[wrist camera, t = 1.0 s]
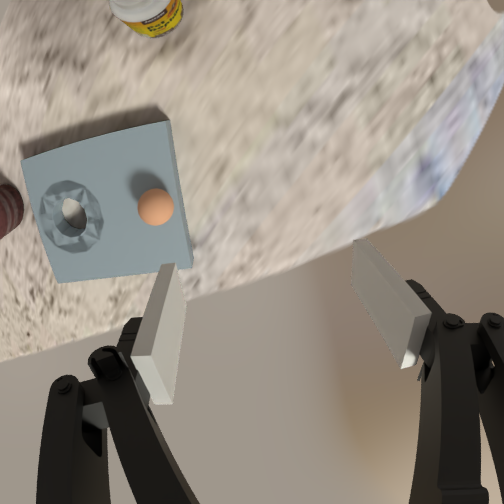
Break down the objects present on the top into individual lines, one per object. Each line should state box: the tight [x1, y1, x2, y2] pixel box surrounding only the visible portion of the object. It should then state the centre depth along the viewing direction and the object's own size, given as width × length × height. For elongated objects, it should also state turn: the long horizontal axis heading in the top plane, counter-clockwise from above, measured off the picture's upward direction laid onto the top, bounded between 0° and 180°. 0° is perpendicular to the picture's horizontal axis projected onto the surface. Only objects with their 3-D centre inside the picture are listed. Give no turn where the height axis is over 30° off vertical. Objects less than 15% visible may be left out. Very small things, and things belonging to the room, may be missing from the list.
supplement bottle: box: [109, 0, 183, 38], centre depth 20 cm, size 6×6×10 cm
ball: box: [137, 188, 174, 226], centre depth 29 cm, size 4×4×4 cm
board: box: [21, 120, 194, 283], centre depth 32 cm, size 16×18×2 cm
